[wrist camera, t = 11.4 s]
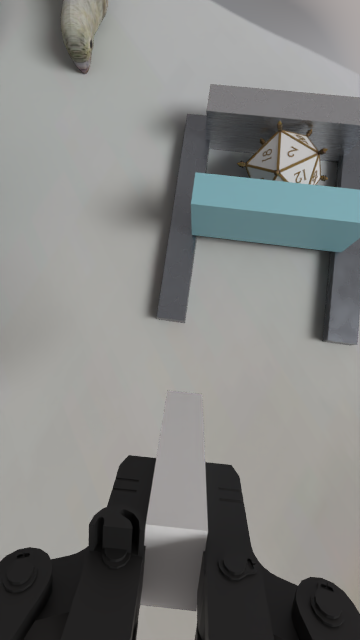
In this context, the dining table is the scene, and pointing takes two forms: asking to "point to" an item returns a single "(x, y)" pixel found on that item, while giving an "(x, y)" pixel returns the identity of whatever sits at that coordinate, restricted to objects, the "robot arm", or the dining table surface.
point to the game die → (286, 159)
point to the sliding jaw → (275, 212)
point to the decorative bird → (81, 28)
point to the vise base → (244, 136)
